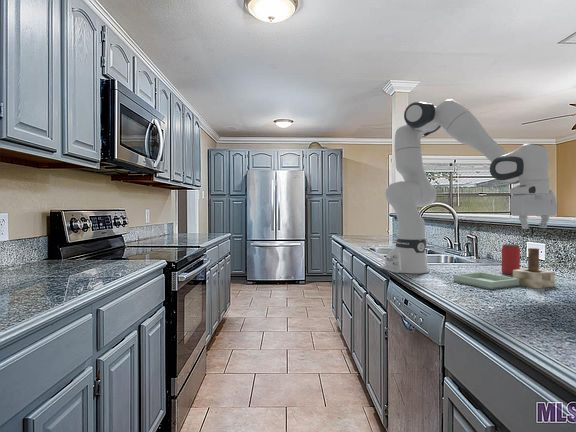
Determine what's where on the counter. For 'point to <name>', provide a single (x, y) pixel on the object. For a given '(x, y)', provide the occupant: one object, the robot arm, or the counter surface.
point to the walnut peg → (533, 259)
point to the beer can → (510, 258)
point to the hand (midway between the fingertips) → (534, 228)
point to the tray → (486, 280)
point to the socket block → (535, 278)
